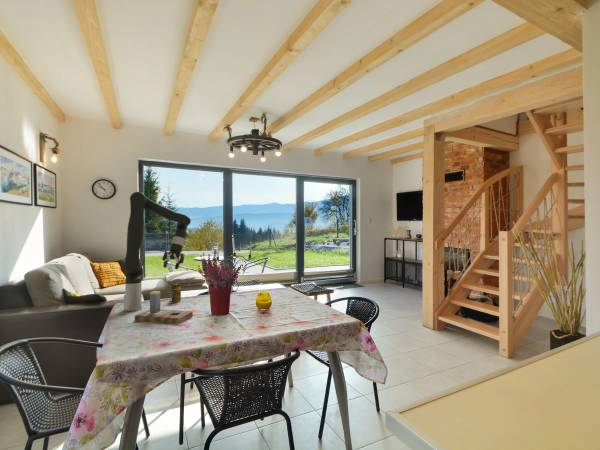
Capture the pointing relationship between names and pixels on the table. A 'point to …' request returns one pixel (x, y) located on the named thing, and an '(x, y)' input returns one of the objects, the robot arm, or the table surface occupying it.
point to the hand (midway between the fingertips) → (170, 268)
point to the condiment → (176, 293)
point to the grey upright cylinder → (154, 301)
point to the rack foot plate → (164, 316)
